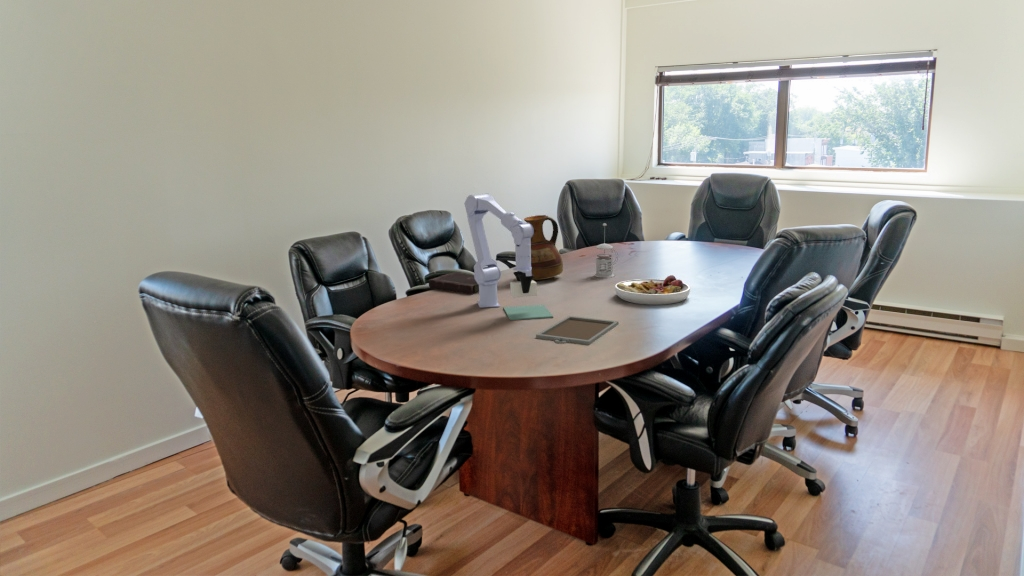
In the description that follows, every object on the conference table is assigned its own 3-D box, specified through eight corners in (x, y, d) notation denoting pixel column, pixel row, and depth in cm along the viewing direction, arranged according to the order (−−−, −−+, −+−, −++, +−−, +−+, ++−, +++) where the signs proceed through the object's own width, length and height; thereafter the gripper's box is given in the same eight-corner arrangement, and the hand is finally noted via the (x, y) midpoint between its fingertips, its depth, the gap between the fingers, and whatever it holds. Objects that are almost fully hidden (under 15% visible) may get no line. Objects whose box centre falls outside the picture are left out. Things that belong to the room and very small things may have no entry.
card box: (533, 293, 262) (533, 280, 261) (536, 295, 258) (536, 282, 257) (510, 295, 260) (510, 282, 259) (513, 297, 255) (513, 284, 254)
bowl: (658, 310, 260) (658, 290, 259) (599, 298, 283) (599, 279, 281) (704, 298, 279) (705, 279, 277) (646, 287, 302) (646, 269, 300)
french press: (590, 274, 330) (590, 222, 325) (612, 272, 334) (613, 221, 328) (599, 278, 321) (599, 225, 316) (621, 276, 324) (622, 223, 319)
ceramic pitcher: (513, 276, 328) (512, 214, 322) (550, 272, 337) (550, 211, 330) (532, 284, 311) (531, 218, 305) (570, 279, 319) (570, 215, 313)
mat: (503, 308, 268) (503, 307, 268) (543, 306, 270) (543, 304, 270) (510, 320, 251) (510, 318, 250) (553, 317, 253) (553, 316, 253)
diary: (471, 296, 293) (471, 285, 292) (428, 290, 308) (428, 279, 307) (498, 287, 307) (497, 277, 306) (456, 282, 322) (455, 271, 321)
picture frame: (618, 321, 242) (586, 343, 217) (618, 325, 243) (586, 348, 217) (569, 315, 251) (531, 336, 226) (569, 319, 252) (532, 341, 226)
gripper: (507, 253, 261) (508, 288, 264) (518, 259, 248) (518, 296, 251) (525, 252, 263) (526, 287, 266) (536, 258, 249) (537, 294, 252)
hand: (523, 291), depth 258 cm, fingers closed on card box, 4 cm apart
